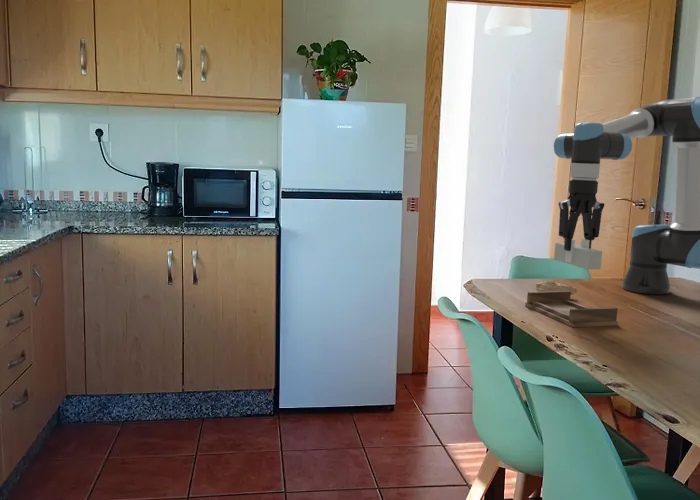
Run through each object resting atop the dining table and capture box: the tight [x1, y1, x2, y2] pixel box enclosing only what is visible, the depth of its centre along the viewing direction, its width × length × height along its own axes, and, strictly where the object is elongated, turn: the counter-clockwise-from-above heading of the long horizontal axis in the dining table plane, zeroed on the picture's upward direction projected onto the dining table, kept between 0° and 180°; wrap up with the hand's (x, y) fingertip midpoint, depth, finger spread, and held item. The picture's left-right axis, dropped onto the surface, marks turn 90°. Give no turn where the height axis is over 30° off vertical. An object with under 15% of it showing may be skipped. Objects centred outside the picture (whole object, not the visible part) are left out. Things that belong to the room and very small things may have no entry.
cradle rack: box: [524, 291, 619, 328], centre depth 176 cm, size 24×14×4 cm, turn 15°
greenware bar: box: [553, 242, 603, 270], centre depth 174 cm, size 4×16×5 cm, turn 15°
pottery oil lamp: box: [534, 280, 578, 296], centre depth 199 cm, size 9×12×7 cm
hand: (576, 261), depth 174 cm, fingers closed on greenware bar, 4 cm apart
